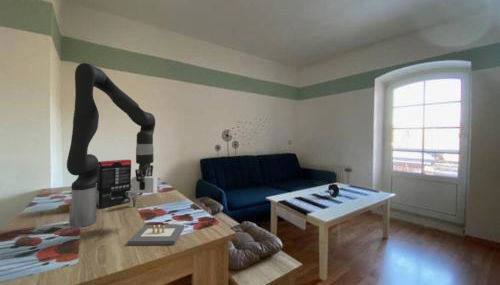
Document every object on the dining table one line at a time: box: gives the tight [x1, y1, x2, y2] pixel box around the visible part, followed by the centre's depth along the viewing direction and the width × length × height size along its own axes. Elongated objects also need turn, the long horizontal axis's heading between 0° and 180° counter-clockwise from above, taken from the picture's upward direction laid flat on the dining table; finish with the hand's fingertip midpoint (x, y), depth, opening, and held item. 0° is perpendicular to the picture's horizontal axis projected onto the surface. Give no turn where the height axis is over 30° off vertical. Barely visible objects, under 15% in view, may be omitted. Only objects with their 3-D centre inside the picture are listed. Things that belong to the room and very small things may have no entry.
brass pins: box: [152, 224, 166, 233], centre depth 87 cm, size 5×1×3 cm, turn 93°
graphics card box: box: [96, 159, 132, 209], centre depth 124 cm, size 17×7×27 cm, turn 144°
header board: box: [127, 224, 185, 246], centre depth 87 cm, size 18×14×2 cm
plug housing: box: [131, 175, 159, 194], centre depth 98 cm, size 10×5×7 cm, turn 93°
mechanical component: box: [125, 189, 144, 208], centre depth 121 cm, size 3×10×10 cm, turn 148°
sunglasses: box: [57, 202, 72, 213], centre depth 118 cm, size 14×15×5 cm
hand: (144, 188), depth 98 cm, fingers closed on plug housing, 5 cm apart
